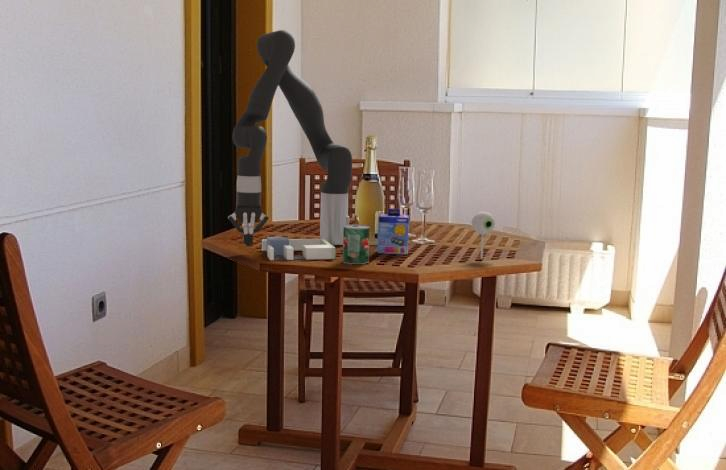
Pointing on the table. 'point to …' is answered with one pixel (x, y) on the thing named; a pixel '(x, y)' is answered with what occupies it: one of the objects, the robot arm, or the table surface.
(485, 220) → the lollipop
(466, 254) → the table surface
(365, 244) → the canned tomato
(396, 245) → the ink cartridge box
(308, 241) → the white open shelf
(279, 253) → the block
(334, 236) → the robot arm
